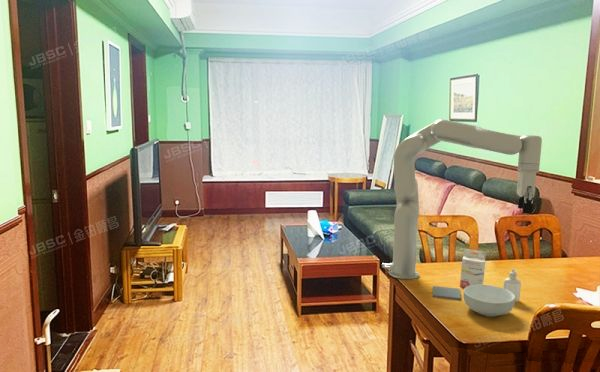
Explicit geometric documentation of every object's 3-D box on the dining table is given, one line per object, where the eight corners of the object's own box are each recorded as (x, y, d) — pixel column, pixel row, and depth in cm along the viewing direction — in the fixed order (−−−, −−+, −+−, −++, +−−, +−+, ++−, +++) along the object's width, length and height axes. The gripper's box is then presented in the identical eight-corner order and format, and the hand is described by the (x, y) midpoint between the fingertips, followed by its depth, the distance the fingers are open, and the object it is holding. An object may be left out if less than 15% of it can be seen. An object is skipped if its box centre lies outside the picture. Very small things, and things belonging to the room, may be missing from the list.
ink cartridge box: (459, 287, 186) (462, 251, 184) (461, 283, 191) (463, 248, 189) (482, 290, 183) (485, 254, 181) (483, 286, 187) (486, 251, 185)
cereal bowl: (463, 299, 174) (465, 281, 173) (512, 307, 168) (514, 288, 167) (460, 317, 158) (462, 297, 157) (514, 326, 152) (516, 305, 151)
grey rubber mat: (432, 297, 176) (432, 295, 175) (432, 287, 185) (432, 285, 185) (460, 300, 173) (461, 298, 173) (459, 290, 182) (459, 288, 182)
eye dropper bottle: (516, 303, 170) (519, 272, 169) (500, 299, 174) (503, 268, 172) (520, 300, 174) (523, 269, 172) (505, 296, 177) (507, 266, 176)
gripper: (514, 164, 190) (510, 206, 192) (522, 169, 173) (518, 214, 176) (534, 165, 188) (530, 207, 190) (544, 170, 171) (540, 216, 174)
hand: (524, 210), depth 183 cm, fingers open, 9 cm apart
